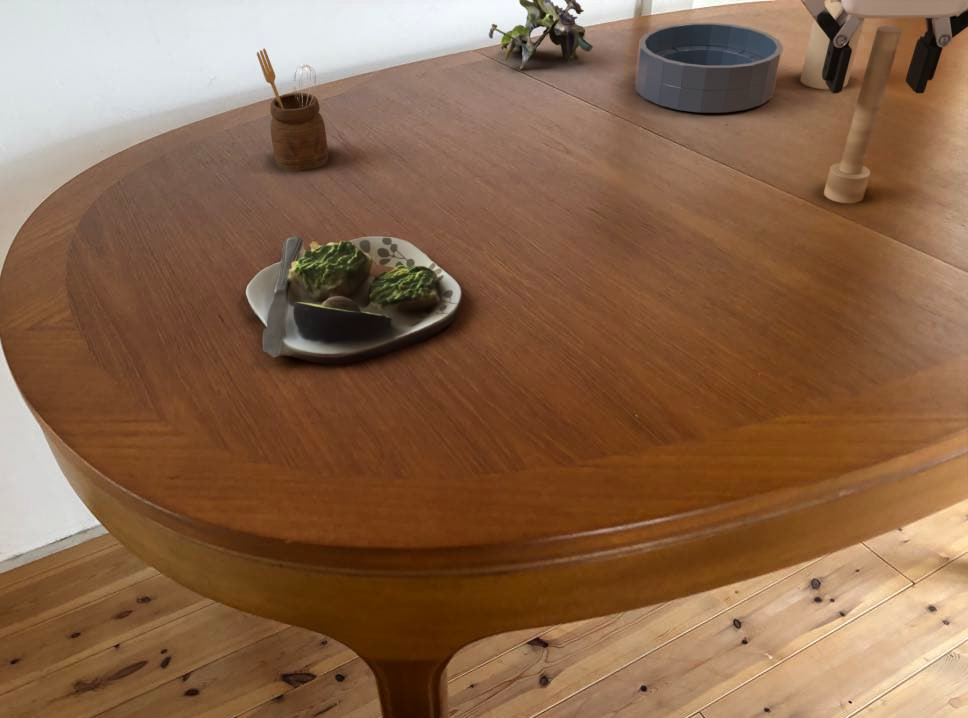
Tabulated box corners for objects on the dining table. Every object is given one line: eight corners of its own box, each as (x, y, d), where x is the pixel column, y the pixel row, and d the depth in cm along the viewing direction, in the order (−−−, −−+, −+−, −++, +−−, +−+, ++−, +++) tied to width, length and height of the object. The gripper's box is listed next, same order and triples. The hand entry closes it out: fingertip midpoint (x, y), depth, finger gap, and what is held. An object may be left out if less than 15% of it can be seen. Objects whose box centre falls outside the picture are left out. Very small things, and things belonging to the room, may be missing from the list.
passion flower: (564, 100, 124) (615, 37, 114) (505, 106, 118) (554, 40, 108) (528, 36, 126) (575, -31, 116) (469, 38, 120) (513, -32, 110)
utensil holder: (313, 178, 95) (298, 65, 88) (263, 170, 98) (244, 59, 90) (339, 156, 100) (326, 46, 92) (290, 149, 102) (274, 41, 94)
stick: (856, 190, 88) (905, 22, 78) (866, 207, 85) (917, 35, 75) (819, 190, 89) (862, 23, 78) (827, 206, 86) (873, 36, 76)
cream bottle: (835, 96, 107) (857, 8, 101) (791, 86, 110) (810, 1, 104) (854, 82, 110) (876, -3, 104) (811, 73, 113) (830, -10, 107)
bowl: (759, 70, 115) (768, 22, 111) (783, 119, 102) (795, 67, 98) (630, 70, 117) (635, 23, 113) (639, 119, 104) (645, 67, 100)
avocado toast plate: (209, 278, 80) (198, 233, 77) (386, 228, 86) (383, 184, 83) (283, 394, 67) (273, 344, 64) (487, 325, 73) (487, 276, 70)
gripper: (832, -132, 67) (781, 103, 78) (1079, -138, 65) (990, 103, 76) (810, -148, 72) (766, 73, 84) (1037, -154, 70) (960, 73, 82)
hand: (873, 86), depth 80 cm, fingers open, 6 cm apart
